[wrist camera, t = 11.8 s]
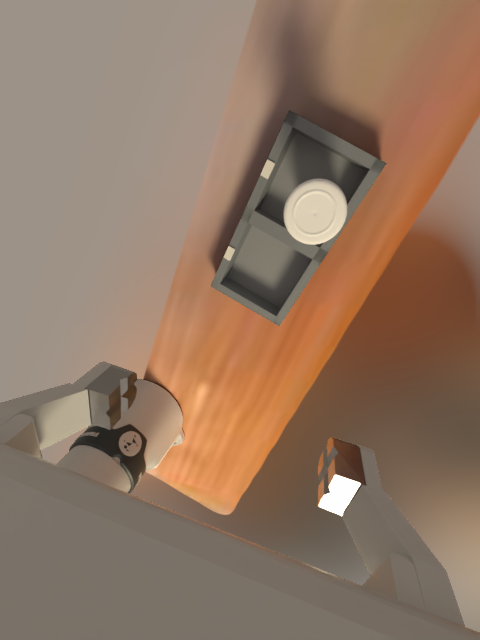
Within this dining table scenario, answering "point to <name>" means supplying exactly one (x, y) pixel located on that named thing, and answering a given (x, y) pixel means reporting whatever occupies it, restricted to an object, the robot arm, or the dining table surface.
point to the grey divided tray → (268, 218)
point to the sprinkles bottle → (315, 211)
